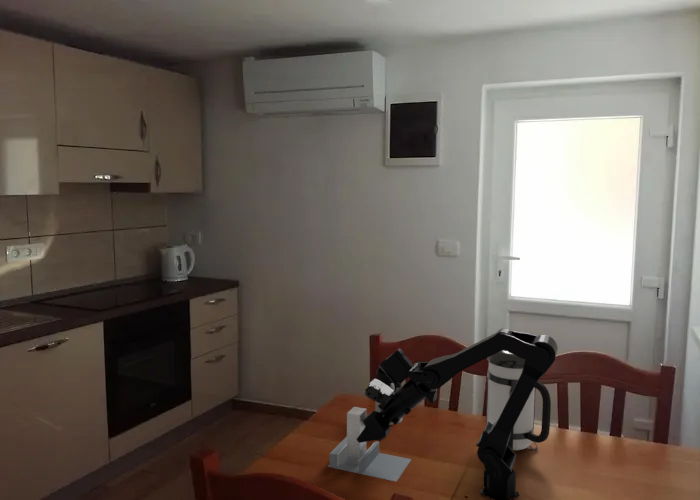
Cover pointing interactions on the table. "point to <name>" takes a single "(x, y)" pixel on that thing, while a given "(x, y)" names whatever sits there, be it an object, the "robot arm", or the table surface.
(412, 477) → the table surface
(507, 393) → the coffee press
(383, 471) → the vise
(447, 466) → the table surface
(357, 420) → the aluminium bar
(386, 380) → the glass holder
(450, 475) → the table surface
